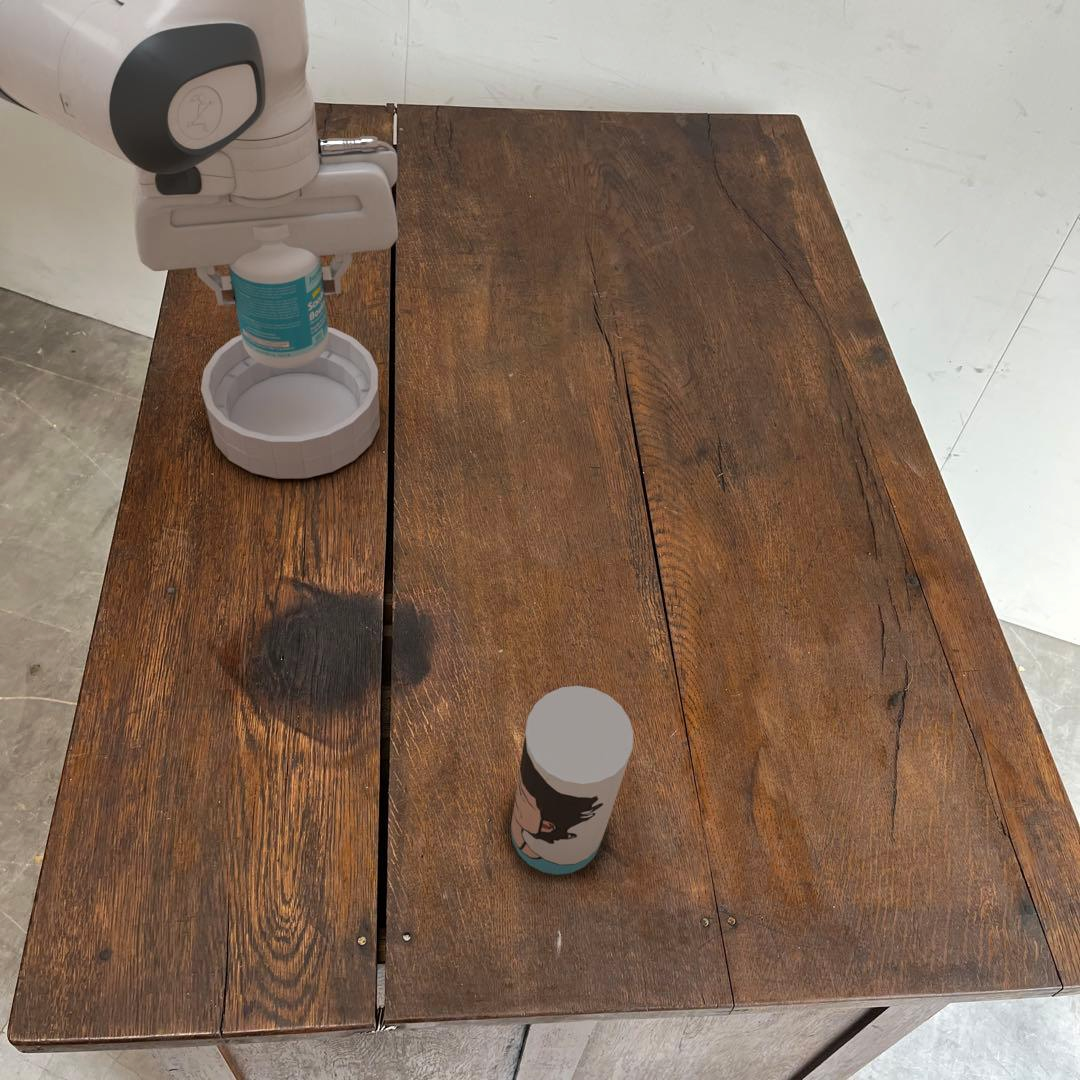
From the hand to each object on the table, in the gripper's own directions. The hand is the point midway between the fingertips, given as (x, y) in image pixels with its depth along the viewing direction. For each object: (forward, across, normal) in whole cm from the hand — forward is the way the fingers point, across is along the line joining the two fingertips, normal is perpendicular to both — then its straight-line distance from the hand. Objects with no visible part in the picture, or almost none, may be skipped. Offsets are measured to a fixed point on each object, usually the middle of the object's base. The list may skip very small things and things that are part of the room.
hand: (279, 295), depth 87 cm
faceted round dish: (+15, 0, 0) cm, 15 cm away
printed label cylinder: (+15, -13, +45) cm, 49 cm away
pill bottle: (+6, 0, 0) cm, 6 cm away
